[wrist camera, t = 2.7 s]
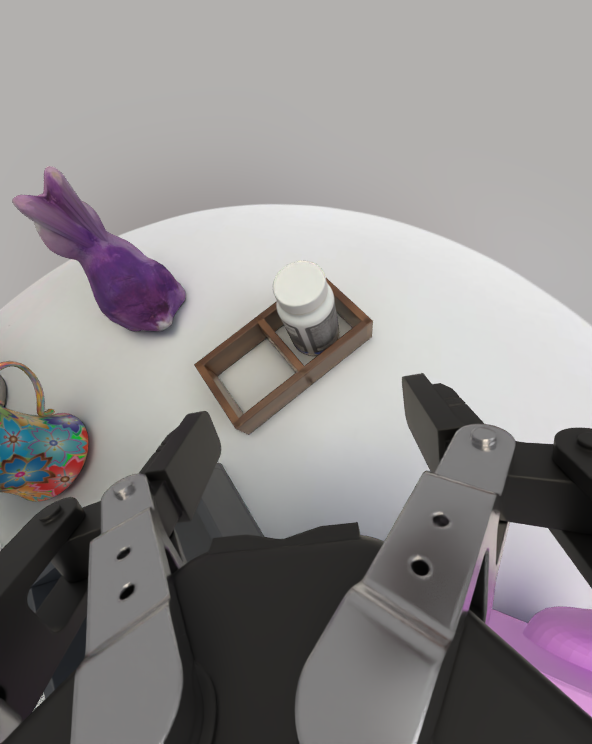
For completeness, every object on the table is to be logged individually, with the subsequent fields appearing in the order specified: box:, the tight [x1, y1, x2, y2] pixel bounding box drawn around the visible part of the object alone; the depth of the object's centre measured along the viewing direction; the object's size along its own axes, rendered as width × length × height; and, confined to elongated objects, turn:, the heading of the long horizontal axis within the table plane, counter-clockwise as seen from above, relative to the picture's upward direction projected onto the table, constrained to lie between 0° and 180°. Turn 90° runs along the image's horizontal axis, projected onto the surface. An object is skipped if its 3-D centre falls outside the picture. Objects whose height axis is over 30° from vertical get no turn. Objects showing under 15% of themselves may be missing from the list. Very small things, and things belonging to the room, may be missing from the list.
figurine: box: [12, 166, 186, 331], centre depth 29 cm, size 9×10×15 cm
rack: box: [194, 278, 373, 435], centre depth 28 cm, size 8×15×3 cm, turn 127°
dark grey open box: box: [27, 463, 264, 699], centre depth 21 cm, size 13×13×7 cm
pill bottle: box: [273, 261, 339, 356], centre depth 26 cm, size 5×5×8 cm
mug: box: [0, 361, 88, 502], centre depth 26 cm, size 12×9×11 cm
